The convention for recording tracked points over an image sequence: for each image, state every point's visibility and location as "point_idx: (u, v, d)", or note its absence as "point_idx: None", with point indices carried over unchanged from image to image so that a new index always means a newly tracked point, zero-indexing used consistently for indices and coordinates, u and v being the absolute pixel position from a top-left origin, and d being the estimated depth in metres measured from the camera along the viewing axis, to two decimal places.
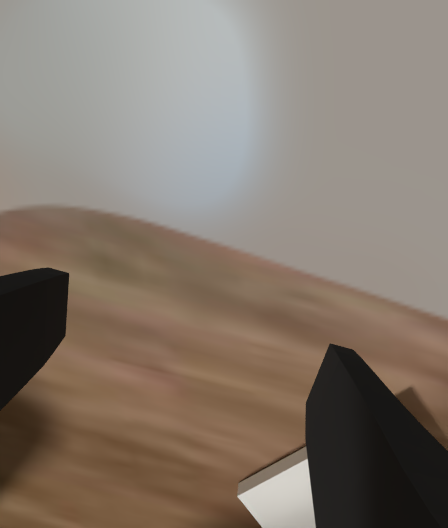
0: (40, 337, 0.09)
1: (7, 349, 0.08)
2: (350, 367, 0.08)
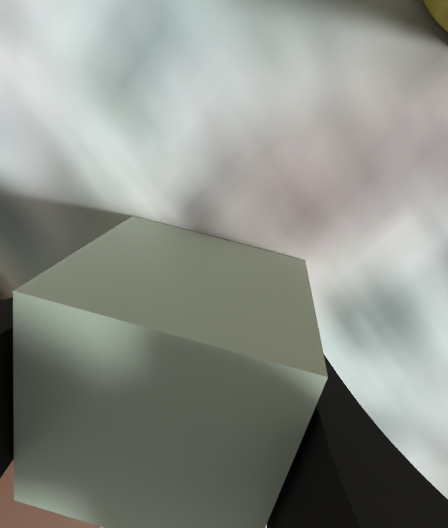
0: None
1: None
2: None
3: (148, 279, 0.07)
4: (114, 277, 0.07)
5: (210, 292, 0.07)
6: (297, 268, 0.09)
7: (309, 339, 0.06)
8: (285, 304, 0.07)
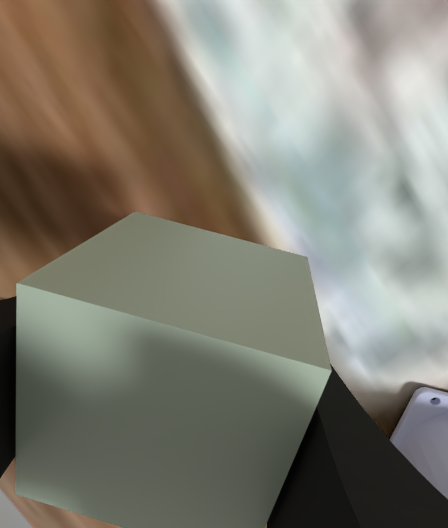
0: None
1: None
2: None
3: (152, 273, 0.07)
4: (117, 271, 0.07)
5: (213, 286, 0.07)
6: (299, 264, 0.09)
7: (312, 333, 0.06)
8: (288, 299, 0.07)
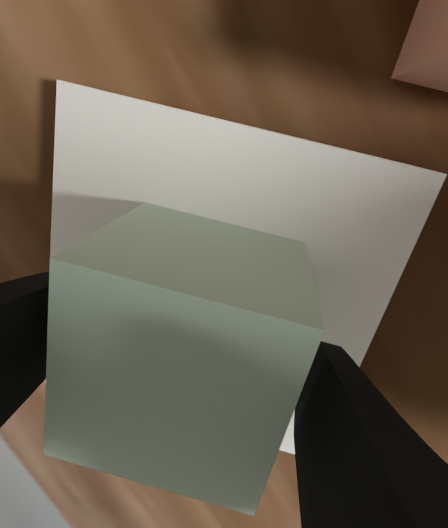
0: None
1: (20, 353, 0.08)
2: (336, 363, 0.08)
3: (164, 253, 0.08)
4: (134, 251, 0.08)
5: (219, 264, 0.08)
6: (297, 248, 0.10)
7: (308, 302, 0.07)
8: (287, 276, 0.08)
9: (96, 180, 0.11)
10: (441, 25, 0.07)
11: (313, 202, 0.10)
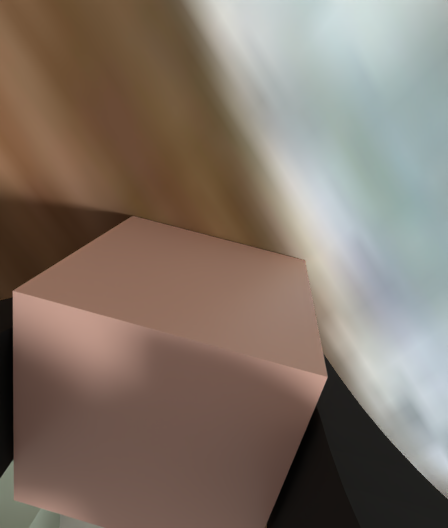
0: None
1: None
2: None
3: None
4: None
5: None
6: None
7: None
8: None
9: None
10: None
11: None
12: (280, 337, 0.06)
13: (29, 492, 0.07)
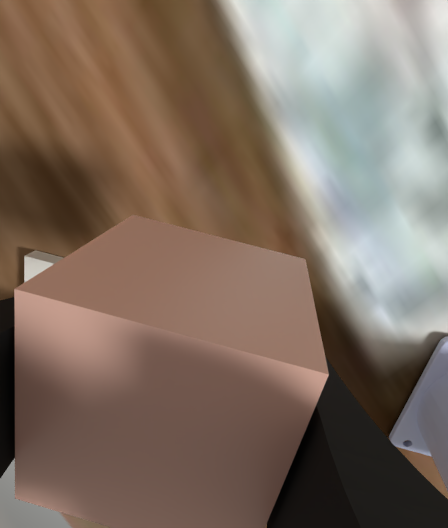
0: None
1: None
2: None
3: None
4: None
5: None
6: None
7: None
8: None
9: None
10: None
11: None
12: (282, 335, 0.06)
13: (30, 490, 0.07)
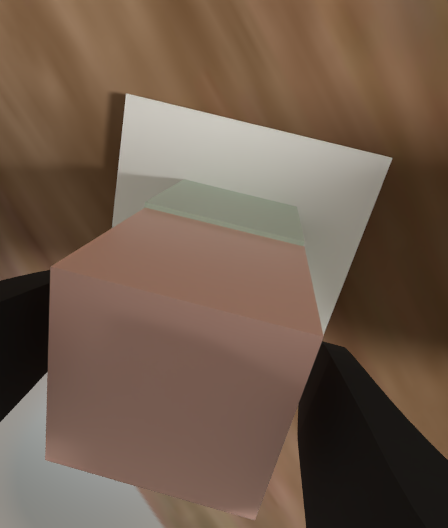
0: (48, 339, 0.09)
1: (16, 352, 0.08)
2: (341, 364, 0.08)
3: (207, 205, 0.12)
4: (189, 202, 0.12)
5: (241, 212, 0.12)
6: (291, 209, 0.15)
7: (296, 231, 0.12)
8: (284, 220, 0.13)
9: (150, 163, 0.16)
10: None
11: (302, 178, 0.15)
12: (283, 306, 0.07)
13: (59, 452, 0.08)
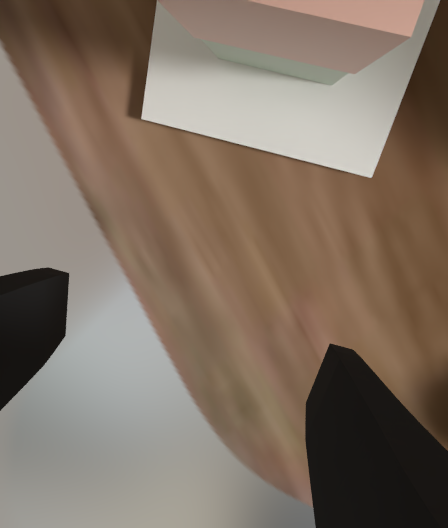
0: (40, 337, 0.09)
1: (7, 349, 0.08)
2: (350, 367, 0.08)
3: None
4: None
5: None
6: None
7: None
8: None
9: None
10: None
11: None
12: None
13: None
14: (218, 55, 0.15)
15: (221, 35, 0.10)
